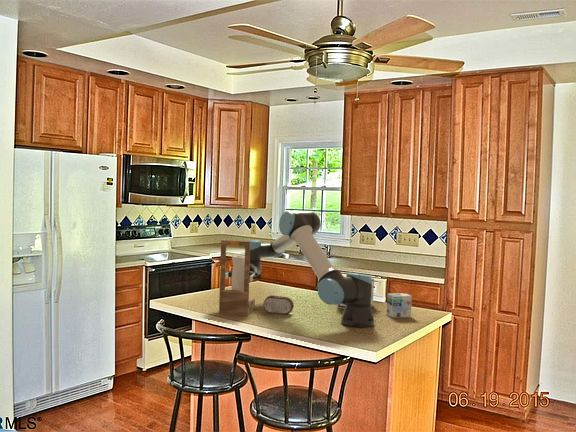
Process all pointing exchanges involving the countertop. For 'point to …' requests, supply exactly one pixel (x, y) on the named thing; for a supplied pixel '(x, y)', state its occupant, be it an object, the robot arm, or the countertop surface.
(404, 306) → the light bulb box
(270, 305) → the tin
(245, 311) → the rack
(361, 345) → the countertop surface
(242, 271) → the skyscraper
